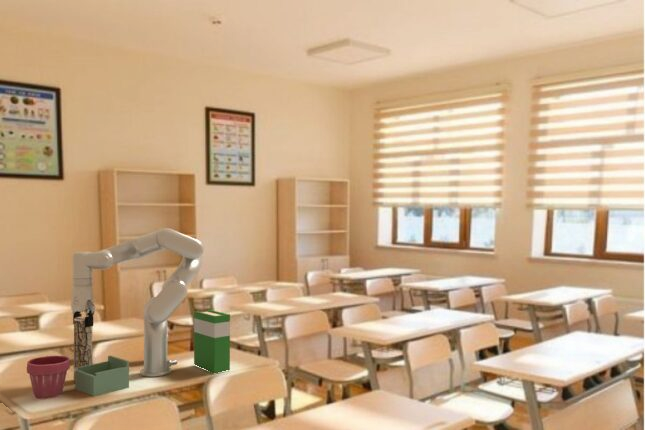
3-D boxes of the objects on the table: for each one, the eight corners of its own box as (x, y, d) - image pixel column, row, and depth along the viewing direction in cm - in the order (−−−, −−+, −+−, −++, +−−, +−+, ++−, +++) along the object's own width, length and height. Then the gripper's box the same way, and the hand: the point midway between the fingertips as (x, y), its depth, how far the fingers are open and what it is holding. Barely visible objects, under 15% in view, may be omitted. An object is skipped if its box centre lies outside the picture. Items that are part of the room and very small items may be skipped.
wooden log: (85, 383, 211) (85, 319, 212) (69, 382, 212) (70, 318, 213) (95, 378, 218) (96, 316, 218) (80, 377, 219) (81, 316, 220)
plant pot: (76, 394, 197) (76, 359, 197) (35, 403, 187) (36, 366, 187) (60, 386, 207) (60, 353, 207) (20, 395, 196) (20, 360, 197)
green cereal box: (194, 365, 238) (194, 311, 238) (208, 363, 243) (209, 309, 243) (214, 374, 225) (214, 316, 225) (229, 370, 229) (229, 314, 230)
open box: (110, 380, 215) (110, 355, 215) (129, 387, 206) (129, 361, 206) (75, 388, 204) (75, 362, 204) (93, 396, 195) (93, 368, 195)
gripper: (63, 282, 219) (63, 324, 218) (84, 284, 208) (84, 329, 207) (81, 280, 224) (82, 321, 224) (102, 283, 213) (103, 326, 213)
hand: (83, 325), depth 216 cm, fingers open, 9 cm apart
